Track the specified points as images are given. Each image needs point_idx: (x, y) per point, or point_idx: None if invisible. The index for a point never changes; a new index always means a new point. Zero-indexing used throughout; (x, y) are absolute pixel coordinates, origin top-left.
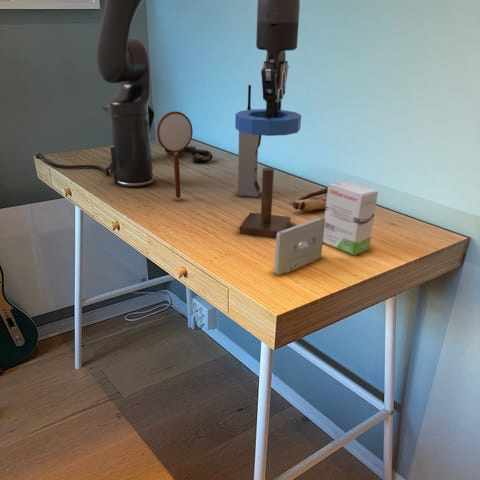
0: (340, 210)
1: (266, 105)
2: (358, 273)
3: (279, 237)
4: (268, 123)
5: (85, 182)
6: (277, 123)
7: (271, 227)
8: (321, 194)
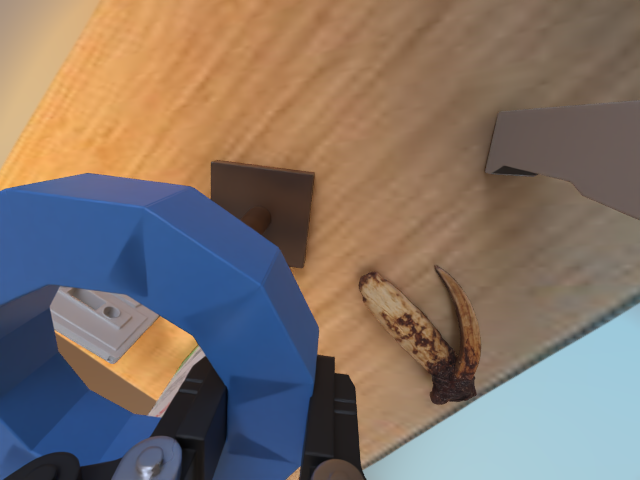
0: (170, 391)
1: (184, 418)
2: (122, 362)
3: None
4: None
5: None
6: None
7: None
8: (460, 332)
